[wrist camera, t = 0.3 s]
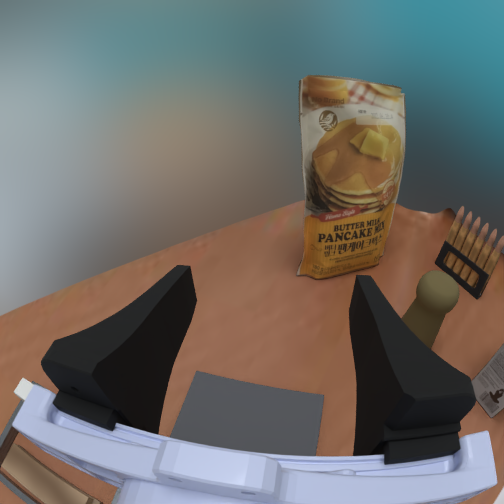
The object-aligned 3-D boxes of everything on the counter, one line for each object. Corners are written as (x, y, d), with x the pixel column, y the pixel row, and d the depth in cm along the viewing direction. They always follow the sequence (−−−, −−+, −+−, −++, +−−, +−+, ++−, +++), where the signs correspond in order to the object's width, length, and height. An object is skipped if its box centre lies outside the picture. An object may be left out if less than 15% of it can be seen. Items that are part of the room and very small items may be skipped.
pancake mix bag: (276, 260, 49) (286, 71, 32) (374, 240, 53) (404, 85, 36) (293, 288, 44) (313, 77, 27) (395, 262, 48) (437, 95, 31)
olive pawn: (426, 367, 32) (467, 307, 25) (384, 354, 34) (417, 289, 27) (431, 333, 36) (465, 272, 29) (393, 320, 38) (421, 256, 32)
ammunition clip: (434, 263, 48) (456, 204, 41) (439, 260, 49) (461, 202, 41) (476, 299, 40) (507, 240, 33) (481, 295, 41) (510, 237, 34)
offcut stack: (91, 532, 16) (80, 530, 15) (11, 472, 19) (-2, 465, 17) (105, 503, 19) (94, 500, 18) (24, 448, 22) (12, 440, 20)
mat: (301, 520, 19) (302, 520, 19) (152, 484, 22) (151, 483, 21) (323, 397, 30) (324, 394, 30) (197, 373, 32) (196, 370, 32)
